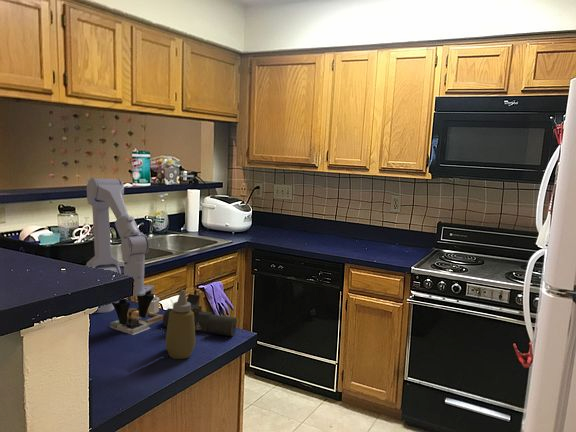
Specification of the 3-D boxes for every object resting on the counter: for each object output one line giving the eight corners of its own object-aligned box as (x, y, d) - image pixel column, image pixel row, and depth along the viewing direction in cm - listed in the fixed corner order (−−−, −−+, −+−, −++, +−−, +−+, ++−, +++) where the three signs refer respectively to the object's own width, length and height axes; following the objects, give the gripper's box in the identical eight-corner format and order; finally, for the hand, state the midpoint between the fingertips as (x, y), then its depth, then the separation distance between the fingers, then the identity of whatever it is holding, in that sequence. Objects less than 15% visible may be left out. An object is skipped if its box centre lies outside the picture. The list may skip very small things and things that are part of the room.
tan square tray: (129, 323, 148) (129, 316, 148) (147, 316, 155) (148, 309, 155) (146, 328, 144) (146, 321, 144) (164, 321, 151) (165, 314, 151)
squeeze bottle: (198, 359, 126) (202, 293, 124) (168, 363, 123) (171, 296, 120) (190, 347, 133) (193, 285, 131) (161, 351, 130) (163, 287, 127)
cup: (136, 313, 157) (136, 299, 156) (149, 309, 162) (149, 295, 161) (149, 317, 154) (149, 302, 153) (162, 313, 159) (163, 298, 158)
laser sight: (228, 342, 139) (230, 309, 138) (157, 332, 143) (158, 300, 142) (237, 331, 149) (239, 300, 147) (170, 321, 152) (171, 291, 151)
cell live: (123, 328, 141) (124, 309, 140) (132, 325, 144) (133, 306, 143) (132, 331, 139) (132, 311, 138) (141, 327, 142) (142, 308, 142)
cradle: (108, 330, 141) (109, 322, 141) (127, 323, 148) (127, 316, 147) (133, 338, 137) (133, 330, 136) (150, 331, 143) (151, 323, 143)
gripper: (124, 283, 131) (123, 330, 133) (161, 273, 144) (160, 316, 146) (106, 278, 135) (105, 324, 136) (144, 269, 147) (143, 311, 149)
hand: (132, 320), depth 141 cm, fingers open, 7 cm apart
